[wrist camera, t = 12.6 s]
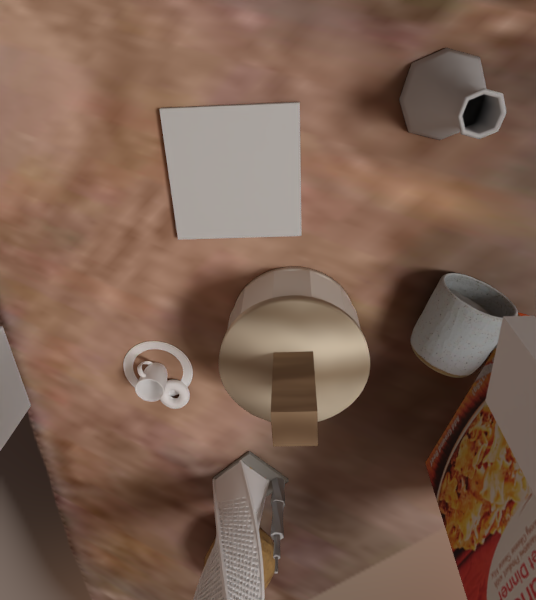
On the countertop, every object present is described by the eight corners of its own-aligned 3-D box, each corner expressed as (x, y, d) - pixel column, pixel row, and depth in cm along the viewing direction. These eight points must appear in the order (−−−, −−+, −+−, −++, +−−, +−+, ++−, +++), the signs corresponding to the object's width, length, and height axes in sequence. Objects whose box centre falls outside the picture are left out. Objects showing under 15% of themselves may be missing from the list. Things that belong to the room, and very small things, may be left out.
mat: (160, 107, 43) (159, 108, 43) (299, 101, 43) (299, 102, 42) (179, 237, 49) (177, 239, 49) (301, 233, 49) (301, 235, 48)
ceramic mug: (398, 330, 54) (415, 375, 47) (432, 264, 50) (456, 302, 43) (488, 354, 55) (517, 401, 48) (527, 292, 51) (565, 333, 44)
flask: (396, 142, 44) (423, 172, 35) (400, 51, 41) (430, 59, 32) (480, 136, 44) (529, 164, 35) (491, 43, 40) (548, 49, 31)
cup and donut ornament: (198, 399, 60) (192, 423, 56) (132, 400, 60) (122, 424, 57) (188, 337, 56) (181, 359, 52) (118, 339, 56) (106, 361, 52)
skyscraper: (244, 508, 68) (219, 780, 44) (199, 478, 66) (146, 749, 41) (288, 479, 65) (287, 753, 41) (242, 446, 63) (212, 718, 38)
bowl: (227, 268, 51) (219, 301, 44) (356, 264, 50) (366, 298, 44) (237, 371, 57) (231, 413, 51) (352, 369, 56) (360, 412, 50)
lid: (214, 290, 46) (195, 358, 36) (369, 284, 45) (390, 353, 35) (229, 407, 52) (216, 491, 43) (363, 405, 52) (380, 489, 42)
